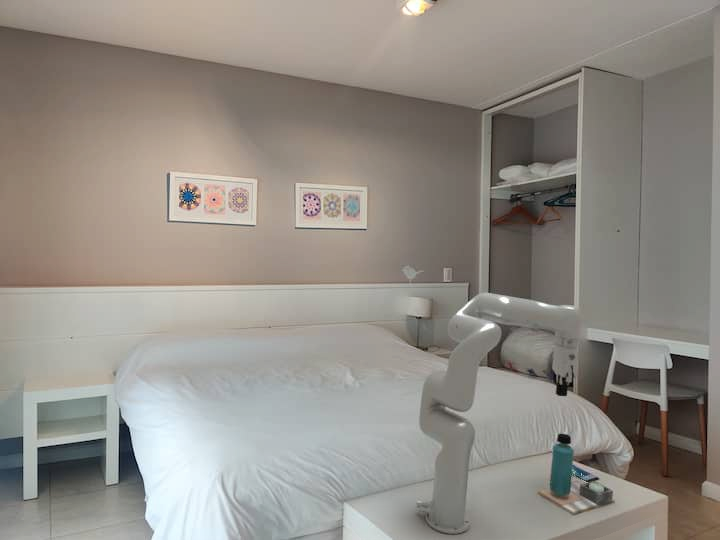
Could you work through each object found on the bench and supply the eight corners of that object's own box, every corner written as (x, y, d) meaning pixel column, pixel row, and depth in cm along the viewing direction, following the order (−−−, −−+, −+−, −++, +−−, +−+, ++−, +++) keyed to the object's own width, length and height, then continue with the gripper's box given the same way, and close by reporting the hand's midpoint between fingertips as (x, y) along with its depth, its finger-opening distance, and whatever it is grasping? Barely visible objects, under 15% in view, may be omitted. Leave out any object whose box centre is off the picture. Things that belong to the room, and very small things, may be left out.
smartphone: (587, 482, 179) (552, 463, 192) (587, 484, 179) (552, 465, 192) (600, 478, 183) (564, 460, 196) (600, 480, 183) (564, 462, 196)
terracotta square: (561, 507, 161) (561, 504, 161) (538, 494, 169) (539, 491, 169) (580, 502, 166) (580, 499, 166) (557, 488, 174) (557, 486, 173)
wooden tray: (573, 515, 157) (574, 502, 157) (537, 493, 170) (538, 481, 169) (614, 501, 167) (616, 489, 167) (577, 482, 179) (578, 470, 179)
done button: (597, 499, 165) (598, 490, 164) (585, 493, 168) (586, 484, 168) (606, 496, 167) (607, 488, 167) (594, 490, 171) (595, 481, 170)
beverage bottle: (571, 501, 163) (577, 440, 162) (549, 498, 165) (555, 437, 163) (567, 491, 170) (573, 432, 168) (546, 488, 171) (552, 430, 170)
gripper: (587, 347, 166) (582, 403, 168) (567, 338, 181) (562, 389, 182) (565, 346, 166) (559, 402, 167) (546, 336, 181) (541, 387, 182)
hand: (561, 395), depth 175 cm, fingers closed
